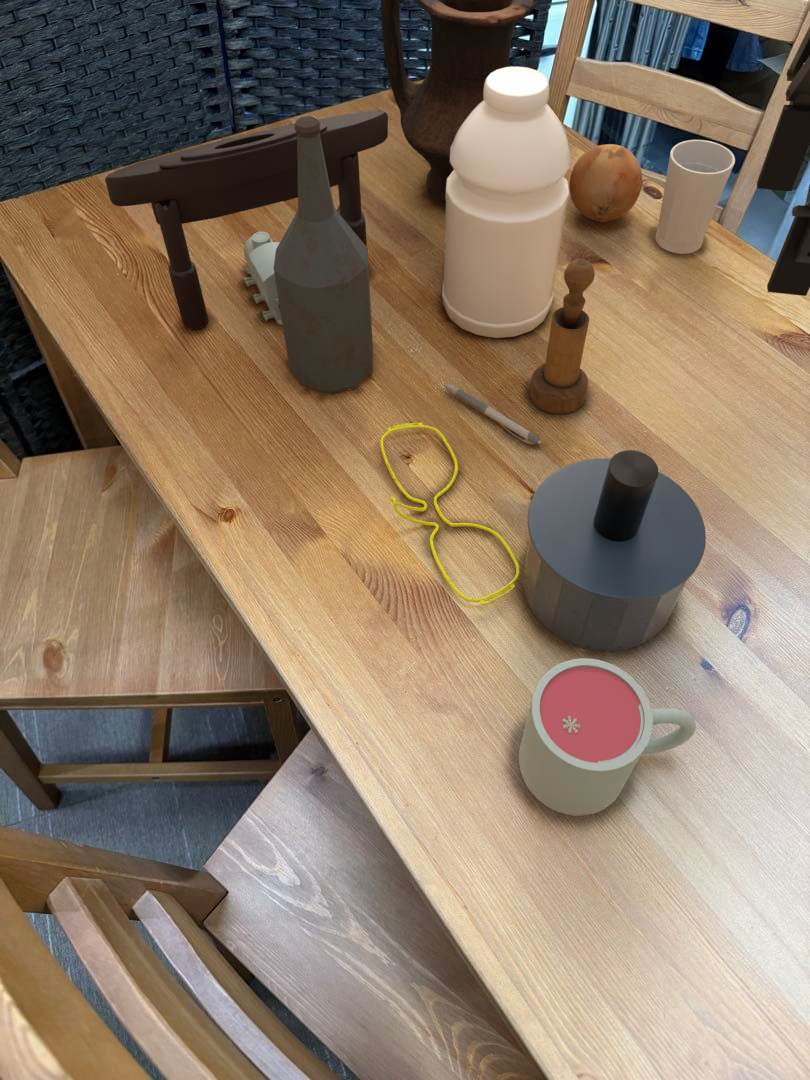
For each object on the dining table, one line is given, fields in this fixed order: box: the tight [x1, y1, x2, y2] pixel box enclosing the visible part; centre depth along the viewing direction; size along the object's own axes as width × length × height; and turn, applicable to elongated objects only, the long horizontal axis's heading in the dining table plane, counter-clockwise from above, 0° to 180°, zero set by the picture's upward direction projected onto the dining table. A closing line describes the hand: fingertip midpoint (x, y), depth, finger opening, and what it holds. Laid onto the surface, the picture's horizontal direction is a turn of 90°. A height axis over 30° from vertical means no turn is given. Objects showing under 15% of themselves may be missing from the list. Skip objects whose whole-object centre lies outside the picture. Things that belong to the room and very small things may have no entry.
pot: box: [522, 538, 687, 652], centre depth 80 cm, size 15×15×10 cm
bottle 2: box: [441, 66, 572, 339], centre depth 98 cm, size 14×14×28 cm
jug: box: [380, 0, 539, 206], centre depth 113 cm, size 21×18×30 cm
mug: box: [518, 657, 697, 817], centre depth 69 cm, size 14×9×10 cm
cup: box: [655, 139, 736, 255], centre depth 112 cm, size 8×8×12 cm
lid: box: [526, 449, 707, 602], centre depth 73 cm, size 16×16×9 cm
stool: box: [104, 109, 389, 330], centre depth 103 cm, size 16×21×33 cm
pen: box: [444, 383, 543, 446], centre depth 97 cm, size 1×14×1 cm, turn 48°
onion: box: [568, 143, 643, 223], centre depth 117 cm, size 10×10×10 cm
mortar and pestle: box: [529, 258, 596, 415], centre depth 92 cm, size 7×6×18 cm
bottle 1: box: [274, 115, 374, 395], centre depth 91 cm, size 10×10×30 cm
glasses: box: [379, 422, 521, 606], centre depth 87 cm, size 25×10×5 cm, turn 22°
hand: (779, 236), depth 66 cm, fingers open, 13 cm apart
